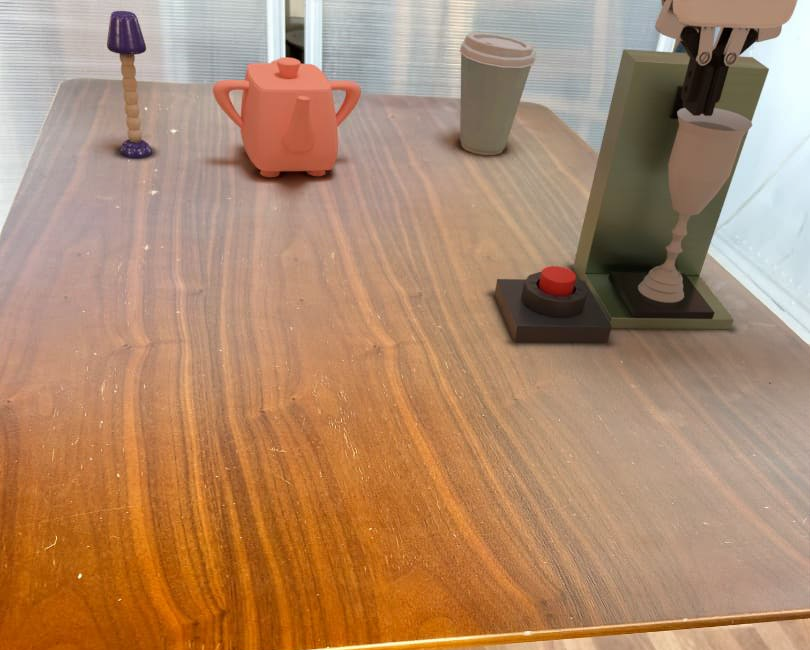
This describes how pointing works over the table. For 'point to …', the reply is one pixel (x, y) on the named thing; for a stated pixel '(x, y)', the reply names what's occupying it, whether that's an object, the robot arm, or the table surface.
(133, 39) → the toy lamp
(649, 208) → the green panel on base
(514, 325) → the button block
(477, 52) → the disposable coffee cup
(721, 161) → the chalice
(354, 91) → the teapot
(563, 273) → the button
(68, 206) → the table surface
